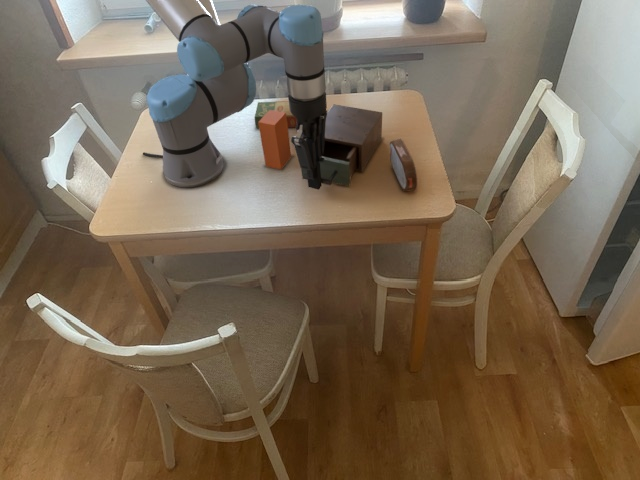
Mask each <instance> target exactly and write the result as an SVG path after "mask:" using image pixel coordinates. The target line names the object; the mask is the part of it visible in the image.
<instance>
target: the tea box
mask: <svg viewBox="0 0 640 480" xmlns="http://www.w3.org/2000/svg"><path fill="white" fill-rule="evenodd" d="M258 125H259V129H258V130H259V136H260V141H261V142H260V143H261V146H262V147H261V148H262V152H263V153H262V154H263V158H264V163H265V167H267V168H271V169H276V170H280V171H281V170H283V168H284V167H285V166H286V165H287V163H288V162H289V160H290V159H291V158H292V150H291V143H290V142H291V141H290V134H289V127H288V126H287V118H286V113H285V112H279V111H274V110H269V111H268V112H267V113H266V114H265V115H264V116H263V117H262V119H261V120H260V121H259V122H258Z"/></svg>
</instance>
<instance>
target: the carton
mask: <svg viewBox="0 0 640 480" xmlns="http://www.w3.org/2000/svg"><path fill="white" fill-rule="evenodd" d="M269 110H274V111H279V112H285V113H286V118H287V126H288V128H296V124H297V119H296V118H295V117H294V116H293V115H292V114H291V112H290V108H289V100H280V101H279V100H278V101H258V102H257V105H256V110H255V114H254V124H255V128H256V129H257V130H259V125H258V122H259V121H260V120H261V119H262V117H263V116H264V115H265V114H266V113H267V112H268V111H269Z"/></svg>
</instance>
